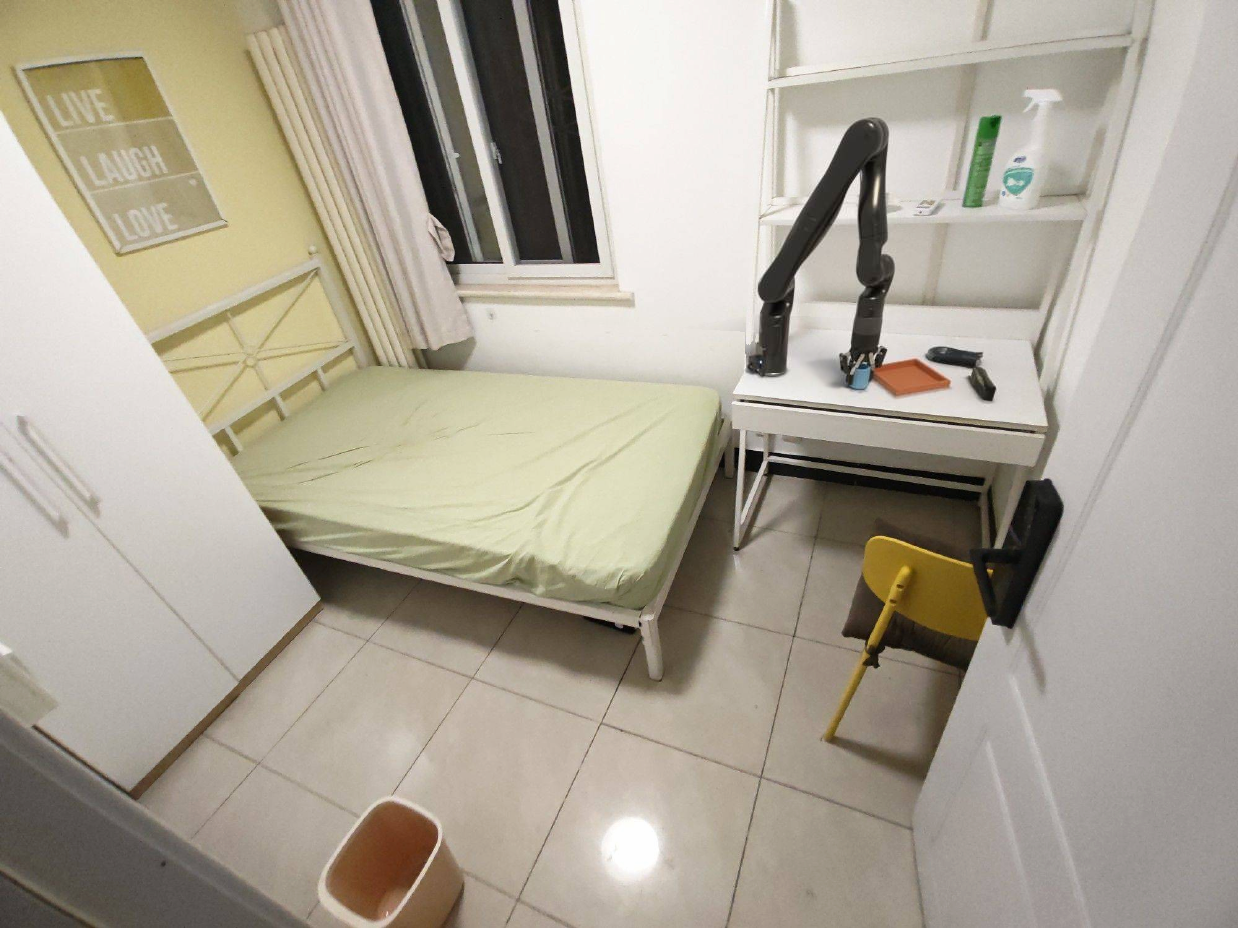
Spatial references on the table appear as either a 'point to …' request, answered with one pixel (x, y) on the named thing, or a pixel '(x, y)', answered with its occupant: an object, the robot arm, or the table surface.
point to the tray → (909, 377)
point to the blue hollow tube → (861, 376)
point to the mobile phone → (982, 384)
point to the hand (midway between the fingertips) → (858, 382)
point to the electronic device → (954, 356)
